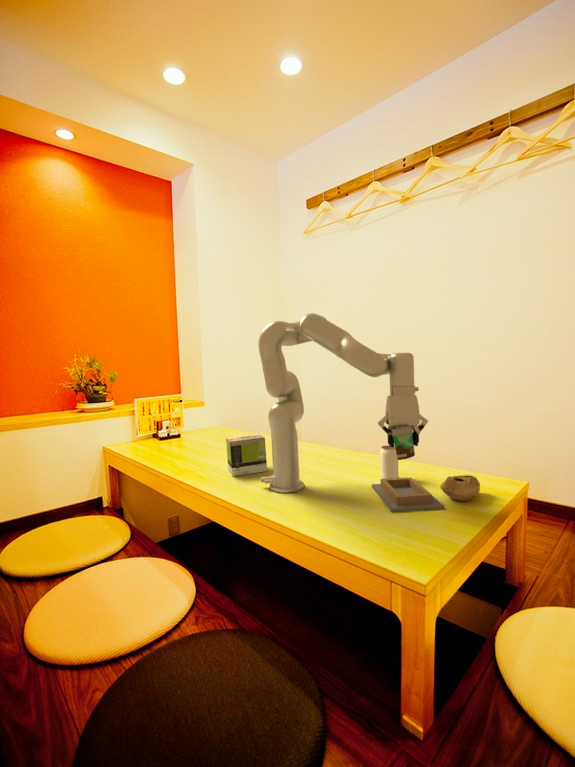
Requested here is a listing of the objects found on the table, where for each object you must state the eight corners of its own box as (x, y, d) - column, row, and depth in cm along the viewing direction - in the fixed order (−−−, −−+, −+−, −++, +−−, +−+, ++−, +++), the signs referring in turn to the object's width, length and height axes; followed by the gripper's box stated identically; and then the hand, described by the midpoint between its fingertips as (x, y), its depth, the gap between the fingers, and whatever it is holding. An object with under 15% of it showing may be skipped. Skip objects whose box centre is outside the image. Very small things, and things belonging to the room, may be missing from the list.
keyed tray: (391, 512, 111) (391, 500, 110) (371, 487, 133) (371, 477, 132) (444, 508, 111) (444, 497, 111) (416, 484, 133) (415, 474, 133)
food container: (417, 459, 114) (411, 427, 114) (397, 461, 116) (391, 429, 116) (419, 450, 125) (413, 421, 126) (400, 452, 128) (395, 423, 128)
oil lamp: (488, 494, 121) (487, 470, 121) (470, 508, 111) (469, 482, 110) (453, 487, 129) (453, 464, 129) (434, 499, 119) (433, 475, 118)
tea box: (261, 465, 166) (259, 433, 165) (267, 472, 156) (265, 437, 155) (227, 470, 161) (225, 436, 160) (231, 477, 152) (229, 441, 151)
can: (399, 481, 137) (398, 449, 136) (381, 481, 138) (380, 449, 138) (397, 476, 143) (396, 445, 143) (380, 475, 145) (379, 445, 144)
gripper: (423, 389, 124) (425, 442, 125) (372, 391, 123) (373, 444, 124) (433, 391, 116) (434, 447, 118) (378, 393, 116) (380, 450, 117)
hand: (403, 445), depth 121 cm, fingers closed on food container, 7 cm apart
